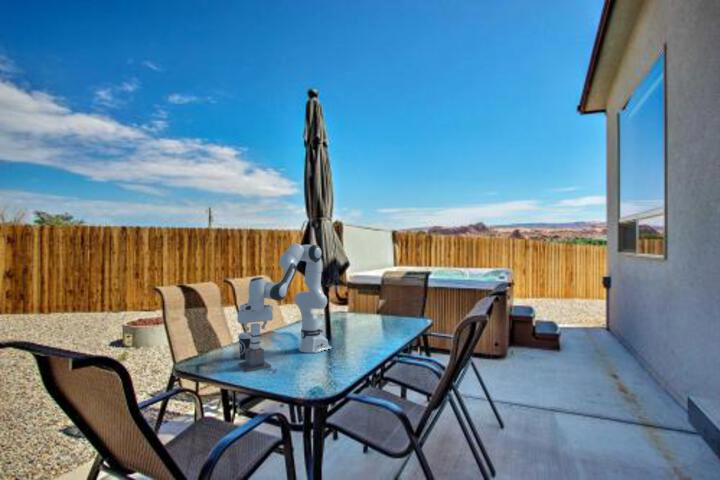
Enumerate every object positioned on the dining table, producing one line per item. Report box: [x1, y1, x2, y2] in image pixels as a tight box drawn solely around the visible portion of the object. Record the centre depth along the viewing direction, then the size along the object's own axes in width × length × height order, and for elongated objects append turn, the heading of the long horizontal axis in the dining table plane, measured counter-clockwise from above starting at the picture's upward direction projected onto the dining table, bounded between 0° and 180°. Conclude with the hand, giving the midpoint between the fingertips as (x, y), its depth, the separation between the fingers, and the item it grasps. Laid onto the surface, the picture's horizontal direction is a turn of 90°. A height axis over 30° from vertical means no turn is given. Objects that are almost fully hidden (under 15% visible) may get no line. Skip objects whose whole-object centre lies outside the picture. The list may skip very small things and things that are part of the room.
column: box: [250, 322, 261, 351], centre depth 209 cm, size 4×4×16 cm
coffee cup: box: [237, 331, 251, 361], centre depth 225 cm, size 10×10×15 cm
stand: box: [237, 347, 272, 373], centre depth 208 cm, size 14×14×10 cm
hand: (255, 329), depth 209 cm, fingers open, 8 cm apart
